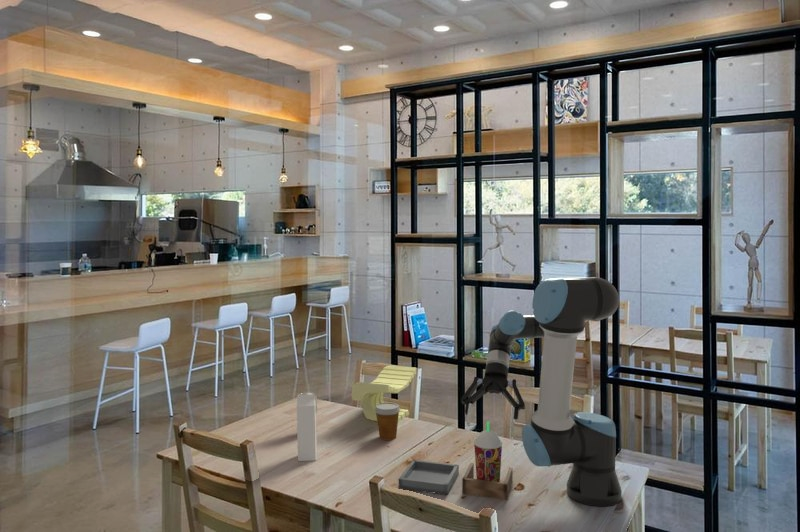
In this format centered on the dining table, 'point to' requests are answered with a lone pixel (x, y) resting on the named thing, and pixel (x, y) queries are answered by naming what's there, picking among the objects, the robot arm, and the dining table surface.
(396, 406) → the disposable coffee cup
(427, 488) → the tray
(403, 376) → the slatted curved stool
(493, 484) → the open-sided wooden box
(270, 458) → the dining table surface
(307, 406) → the milk
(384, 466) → the dining table surface
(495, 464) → the smoothie
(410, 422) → the dining table surface
